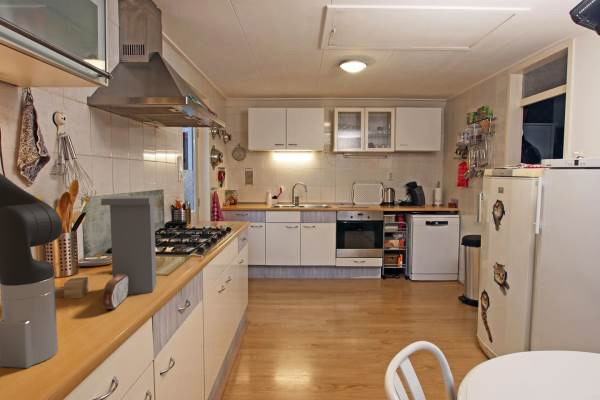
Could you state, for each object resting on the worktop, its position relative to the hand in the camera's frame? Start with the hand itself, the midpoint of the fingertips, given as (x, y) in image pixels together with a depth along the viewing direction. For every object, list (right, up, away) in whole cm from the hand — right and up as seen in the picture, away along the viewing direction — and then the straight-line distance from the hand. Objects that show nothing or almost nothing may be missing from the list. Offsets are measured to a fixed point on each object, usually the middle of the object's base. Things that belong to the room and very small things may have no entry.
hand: (36, 206), depth 107 cm
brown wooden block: (0, -29, +8) cm, 31 cm away
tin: (+24, -30, +1) cm, 39 cm away
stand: (+22, -29, +15) cm, 39 cm away
